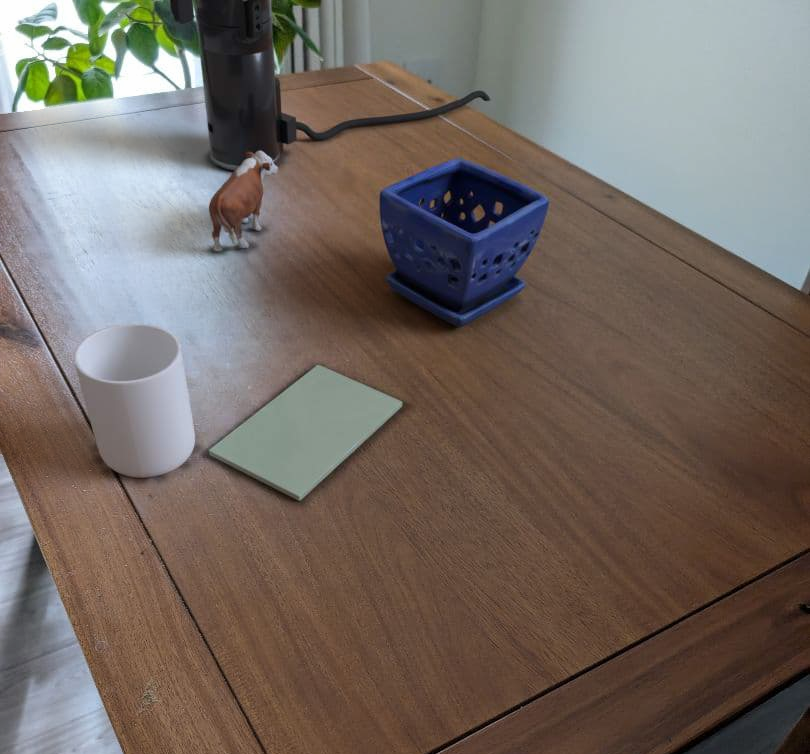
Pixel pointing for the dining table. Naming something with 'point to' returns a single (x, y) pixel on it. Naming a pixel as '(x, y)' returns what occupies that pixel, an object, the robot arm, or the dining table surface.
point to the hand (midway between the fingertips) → (217, 31)
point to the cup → (136, 398)
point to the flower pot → (459, 238)
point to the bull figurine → (240, 198)
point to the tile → (306, 431)
